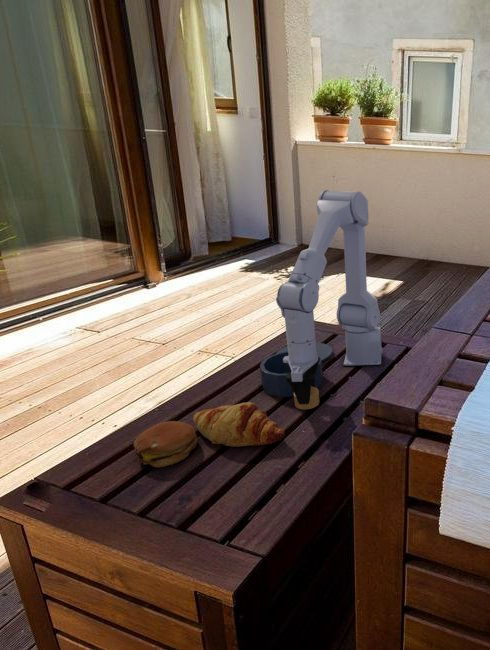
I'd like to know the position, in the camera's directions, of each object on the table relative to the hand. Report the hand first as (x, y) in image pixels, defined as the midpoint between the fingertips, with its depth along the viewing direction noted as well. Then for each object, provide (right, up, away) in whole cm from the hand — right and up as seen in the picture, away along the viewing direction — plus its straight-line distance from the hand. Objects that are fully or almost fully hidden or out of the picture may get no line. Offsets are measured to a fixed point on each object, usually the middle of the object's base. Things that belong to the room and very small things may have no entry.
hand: (306, 396), depth 102 cm
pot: (-6, +2, +10) cm, 11 cm away
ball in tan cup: (0, -2, 0) cm, 2 cm away
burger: (-21, -7, -16) cm, 27 cm away
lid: (-7, +7, +24) cm, 26 cm away
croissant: (-10, -6, -11) cm, 16 cm away
